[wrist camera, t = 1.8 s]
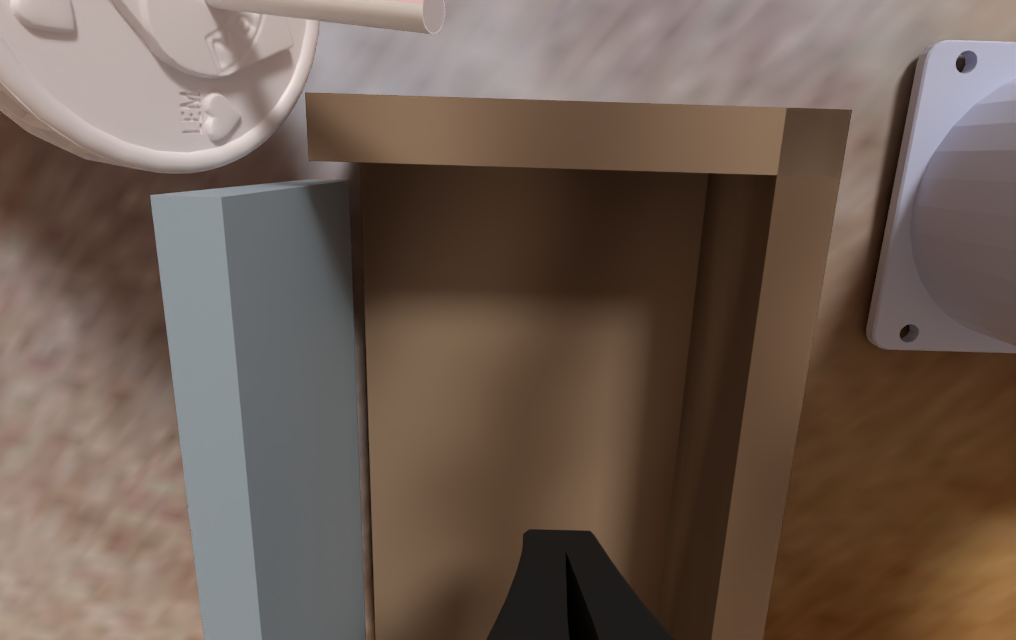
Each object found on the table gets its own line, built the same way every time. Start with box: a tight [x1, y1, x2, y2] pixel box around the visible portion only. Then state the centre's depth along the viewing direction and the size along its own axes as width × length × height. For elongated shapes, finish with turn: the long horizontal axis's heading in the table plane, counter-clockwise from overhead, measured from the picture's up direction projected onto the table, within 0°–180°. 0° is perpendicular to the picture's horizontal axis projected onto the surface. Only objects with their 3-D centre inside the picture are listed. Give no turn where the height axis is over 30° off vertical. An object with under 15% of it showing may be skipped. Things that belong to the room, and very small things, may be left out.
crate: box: [305, 93, 852, 640], centre depth 16 cm, size 10×18×5 cm, turn 178°
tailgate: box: [150, 179, 366, 640], centre depth 14 cm, size 1×14×7 cm, turn 178°
